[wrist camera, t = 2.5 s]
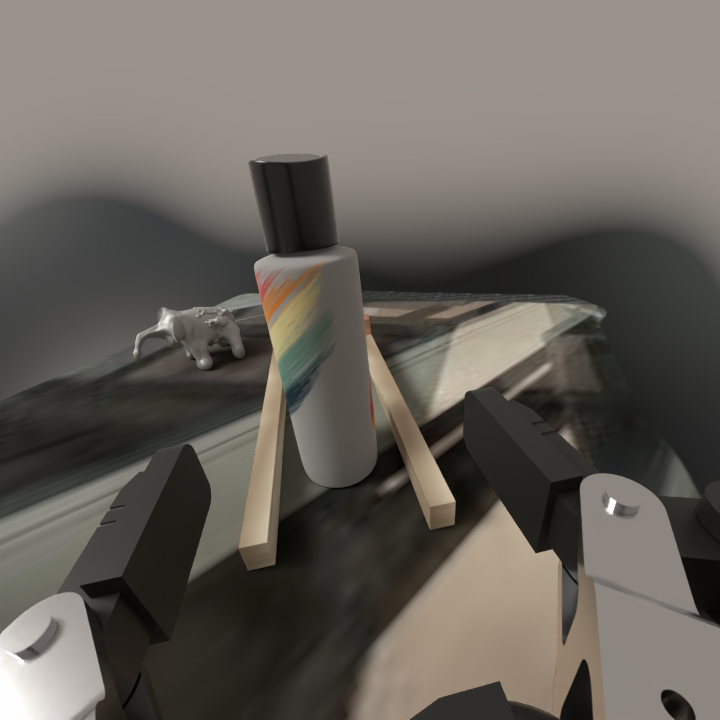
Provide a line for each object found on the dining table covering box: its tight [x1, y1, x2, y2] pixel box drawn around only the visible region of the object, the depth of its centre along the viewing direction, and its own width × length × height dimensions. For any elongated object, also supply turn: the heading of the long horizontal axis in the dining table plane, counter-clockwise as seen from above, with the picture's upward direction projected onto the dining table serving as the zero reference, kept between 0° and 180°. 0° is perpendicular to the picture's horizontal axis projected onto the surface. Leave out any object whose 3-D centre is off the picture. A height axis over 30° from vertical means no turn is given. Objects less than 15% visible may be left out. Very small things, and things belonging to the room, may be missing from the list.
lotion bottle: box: [248, 154, 377, 488], centre depth 20 cm, size 6×6×20 cm
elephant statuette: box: [133, 307, 245, 370], centre depth 41 cm, size 9×12×8 cm
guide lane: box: [238, 314, 456, 571], centre depth 30 cm, size 12×27×4 cm, turn 9°
